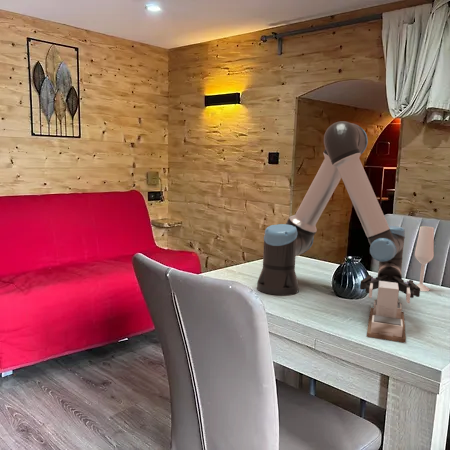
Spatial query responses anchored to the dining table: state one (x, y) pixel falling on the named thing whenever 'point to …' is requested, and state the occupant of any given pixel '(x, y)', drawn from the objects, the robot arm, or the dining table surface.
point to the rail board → (387, 325)
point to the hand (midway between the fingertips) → (389, 295)
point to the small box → (387, 299)
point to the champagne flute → (424, 251)
